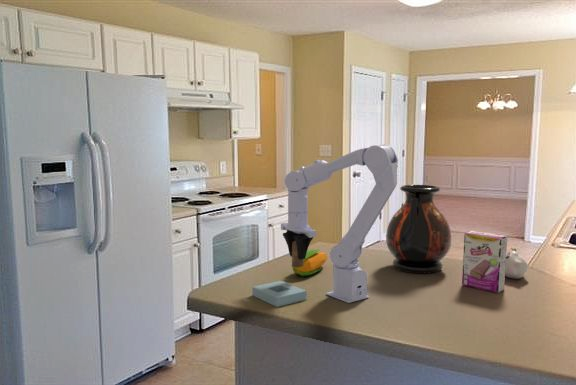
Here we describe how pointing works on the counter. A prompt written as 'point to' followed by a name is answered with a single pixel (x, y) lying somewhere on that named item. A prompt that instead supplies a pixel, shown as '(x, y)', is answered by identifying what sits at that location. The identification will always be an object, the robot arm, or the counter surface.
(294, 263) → the peg
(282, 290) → the board
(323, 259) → the corn
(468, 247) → the candy bar box
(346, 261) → the robot arm
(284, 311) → the counter surface
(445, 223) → the black and orange vase
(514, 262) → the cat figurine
